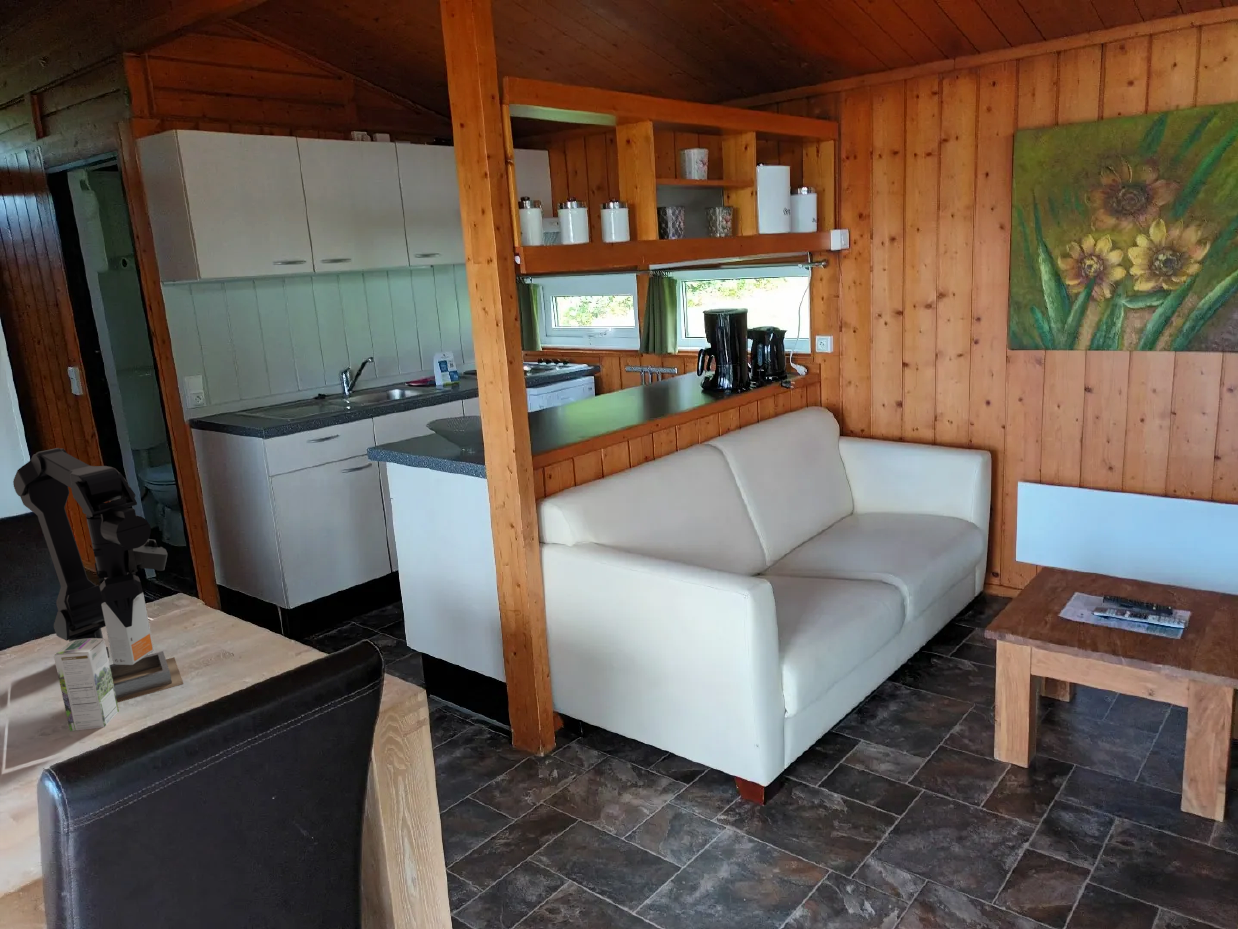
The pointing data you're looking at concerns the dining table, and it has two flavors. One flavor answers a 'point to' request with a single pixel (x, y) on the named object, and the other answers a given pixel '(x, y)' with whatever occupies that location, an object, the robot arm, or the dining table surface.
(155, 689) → the walnut stand
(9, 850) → the dining table surface
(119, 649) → the skincare box
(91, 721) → the syrup box
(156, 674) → the metal collar
